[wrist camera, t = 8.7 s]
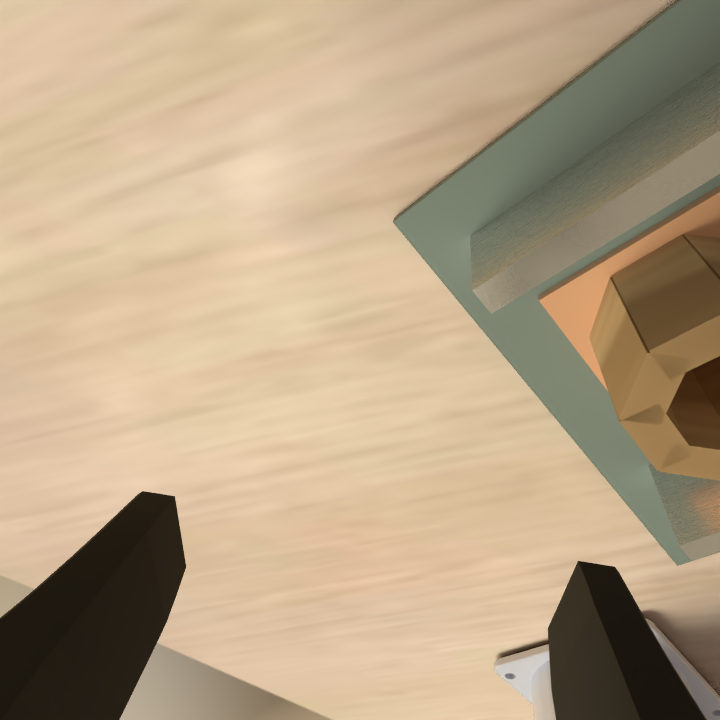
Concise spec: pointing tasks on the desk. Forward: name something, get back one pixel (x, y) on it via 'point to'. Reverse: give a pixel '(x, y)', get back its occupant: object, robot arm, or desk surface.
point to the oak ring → (666, 354)
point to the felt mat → (526, 314)
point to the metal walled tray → (604, 223)
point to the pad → (586, 287)
